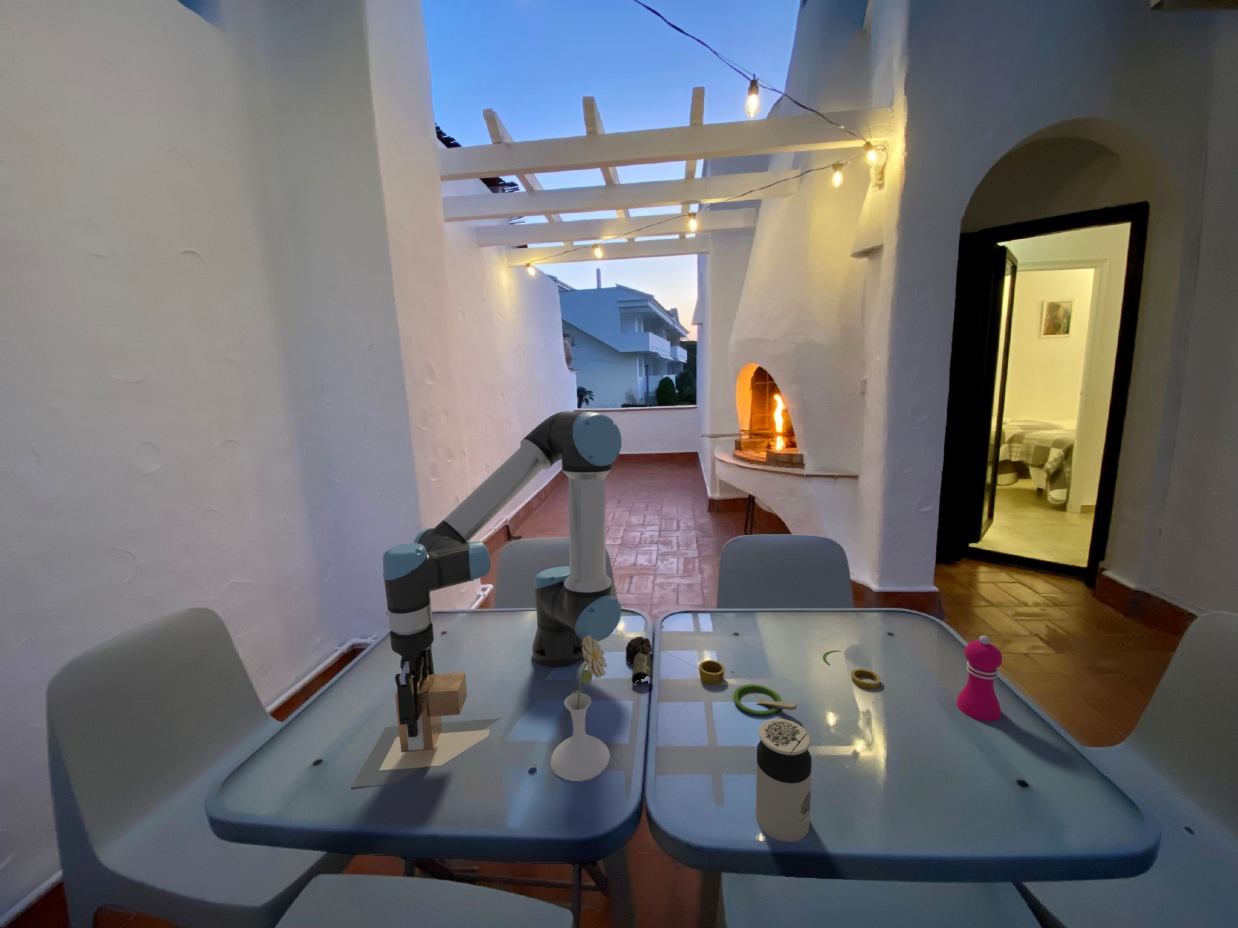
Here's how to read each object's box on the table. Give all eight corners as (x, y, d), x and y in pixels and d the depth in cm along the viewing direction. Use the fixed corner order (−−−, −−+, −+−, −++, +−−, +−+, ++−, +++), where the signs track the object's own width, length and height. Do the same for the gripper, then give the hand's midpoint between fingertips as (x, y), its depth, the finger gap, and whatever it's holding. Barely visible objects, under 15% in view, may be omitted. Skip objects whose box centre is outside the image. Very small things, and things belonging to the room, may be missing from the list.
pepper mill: (986, 744, 96) (995, 649, 92) (947, 722, 102) (954, 632, 99) (1006, 731, 99) (1015, 639, 96) (967, 711, 105) (975, 623, 102)
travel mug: (745, 833, 78) (746, 731, 76) (775, 806, 83) (777, 710, 80) (789, 871, 72) (791, 762, 69) (819, 840, 77) (822, 736, 74)
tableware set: (709, 736, 101) (709, 708, 100) (693, 661, 128) (692, 639, 127) (914, 734, 100) (916, 706, 99) (853, 659, 127) (854, 636, 126)
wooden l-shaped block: (411, 730, 100) (406, 676, 98) (469, 726, 101) (465, 672, 99) (401, 752, 94) (395, 694, 92) (462, 747, 95) (457, 690, 93)
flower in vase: (588, 801, 85) (581, 669, 81) (538, 776, 91) (530, 651, 87) (626, 753, 96) (623, 634, 92) (580, 733, 102) (574, 620, 98)
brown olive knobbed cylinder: (652, 689, 115) (652, 667, 114) (623, 688, 116) (623, 666, 115) (652, 651, 133) (652, 631, 132) (627, 650, 133) (627, 631, 132)
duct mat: (509, 721, 107) (509, 716, 106) (497, 779, 91) (496, 774, 91) (386, 731, 105) (385, 726, 105) (351, 792, 89) (350, 786, 89)
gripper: (408, 605, 102) (418, 706, 106) (369, 653, 84) (383, 774, 87) (445, 603, 103) (453, 703, 107) (414, 651, 84) (426, 771, 88)
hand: (422, 735), depth 97 cm, fingers closed on wooden l-shaped block, 6 cm apart
